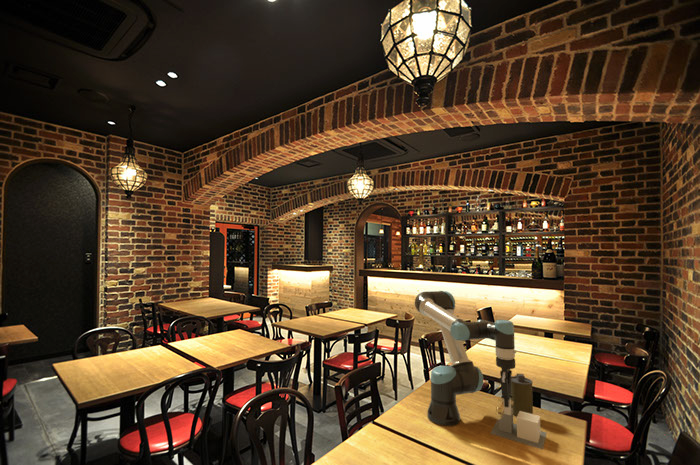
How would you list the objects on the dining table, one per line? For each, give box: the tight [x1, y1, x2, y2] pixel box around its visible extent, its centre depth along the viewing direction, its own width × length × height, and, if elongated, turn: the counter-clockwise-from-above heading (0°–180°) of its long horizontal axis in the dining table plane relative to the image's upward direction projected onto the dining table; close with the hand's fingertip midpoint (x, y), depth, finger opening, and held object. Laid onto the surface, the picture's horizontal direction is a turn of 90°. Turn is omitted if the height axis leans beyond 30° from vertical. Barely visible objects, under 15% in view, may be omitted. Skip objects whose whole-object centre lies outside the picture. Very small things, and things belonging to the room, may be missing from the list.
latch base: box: [490, 408, 548, 450], centre depth 146 cm, size 20×16×10 cm
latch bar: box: [495, 397, 513, 420], centre depth 145 cm, size 15×6×4 cm, turn 142°
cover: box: [516, 411, 541, 443], centre depth 144 cm, size 8×8×8 cm
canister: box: [511, 373, 534, 418], centre depth 164 cm, size 11×10×20 cm
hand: (507, 413), depth 141 cm, fingers closed
